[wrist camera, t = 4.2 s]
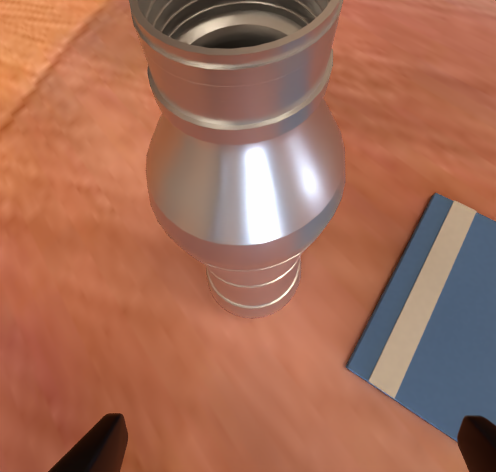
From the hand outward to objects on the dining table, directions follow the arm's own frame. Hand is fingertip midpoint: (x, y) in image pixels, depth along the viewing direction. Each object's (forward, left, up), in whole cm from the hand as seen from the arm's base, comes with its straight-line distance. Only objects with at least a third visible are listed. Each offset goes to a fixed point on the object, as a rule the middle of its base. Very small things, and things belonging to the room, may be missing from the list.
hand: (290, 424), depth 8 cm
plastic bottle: (-4, +7, -14) cm, 16 cm away
